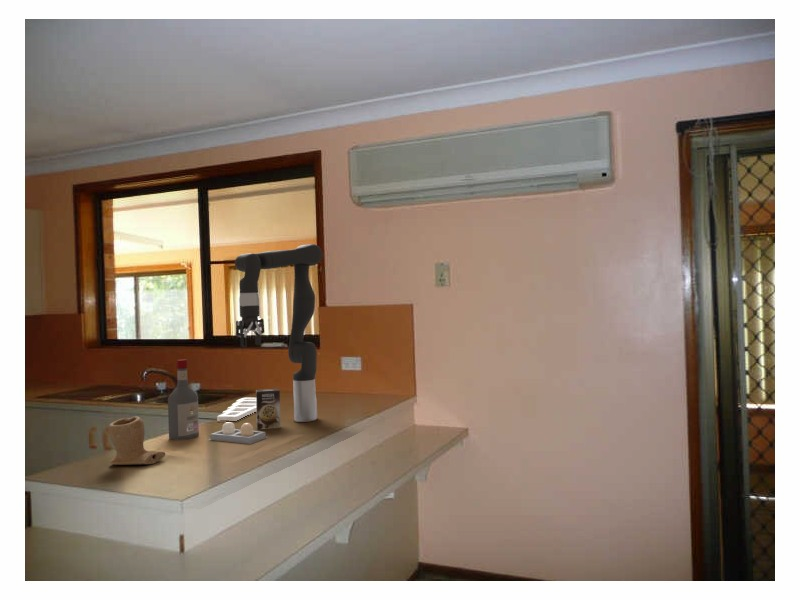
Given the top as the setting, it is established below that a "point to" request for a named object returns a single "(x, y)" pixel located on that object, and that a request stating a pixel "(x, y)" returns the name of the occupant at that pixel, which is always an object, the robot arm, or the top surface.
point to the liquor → (183, 407)
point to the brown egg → (247, 430)
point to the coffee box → (268, 408)
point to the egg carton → (238, 437)
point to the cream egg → (228, 428)
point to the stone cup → (131, 443)
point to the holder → (239, 409)
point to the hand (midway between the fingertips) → (251, 346)
